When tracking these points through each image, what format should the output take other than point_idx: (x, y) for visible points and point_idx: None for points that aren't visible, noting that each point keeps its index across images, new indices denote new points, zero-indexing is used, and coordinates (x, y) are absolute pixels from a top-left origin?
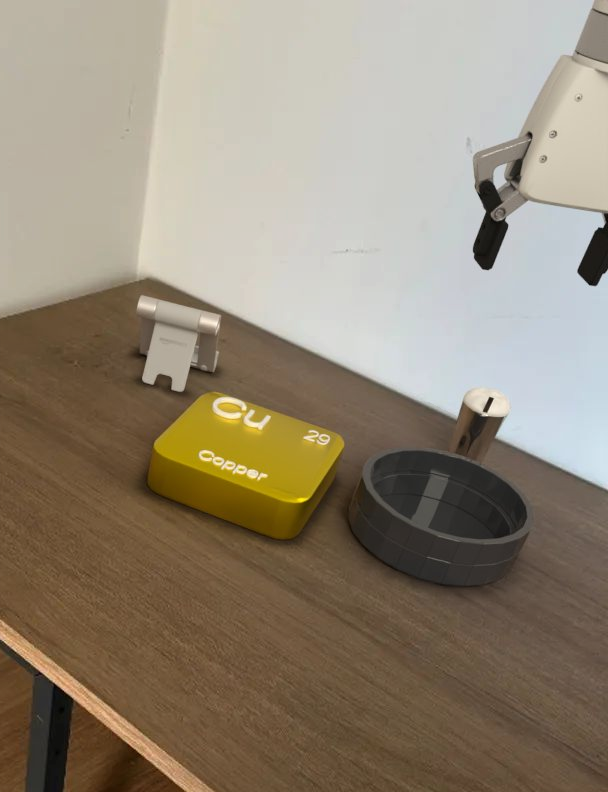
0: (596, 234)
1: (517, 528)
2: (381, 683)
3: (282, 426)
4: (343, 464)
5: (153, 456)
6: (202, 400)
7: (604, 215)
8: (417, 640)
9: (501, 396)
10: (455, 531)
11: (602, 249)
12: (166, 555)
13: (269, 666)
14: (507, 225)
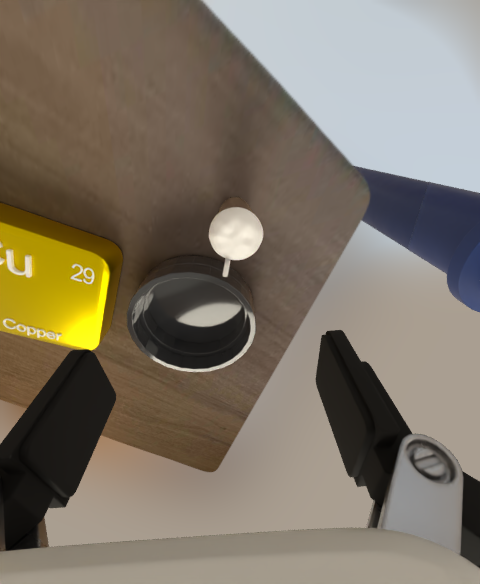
0: (360, 427)
1: (248, 324)
2: (166, 400)
3: (47, 263)
4: (129, 225)
5: None
6: None
7: (384, 503)
8: (183, 379)
9: (250, 236)
10: (215, 301)
11: (340, 445)
12: (45, 353)
13: (118, 401)
14: (69, 496)
